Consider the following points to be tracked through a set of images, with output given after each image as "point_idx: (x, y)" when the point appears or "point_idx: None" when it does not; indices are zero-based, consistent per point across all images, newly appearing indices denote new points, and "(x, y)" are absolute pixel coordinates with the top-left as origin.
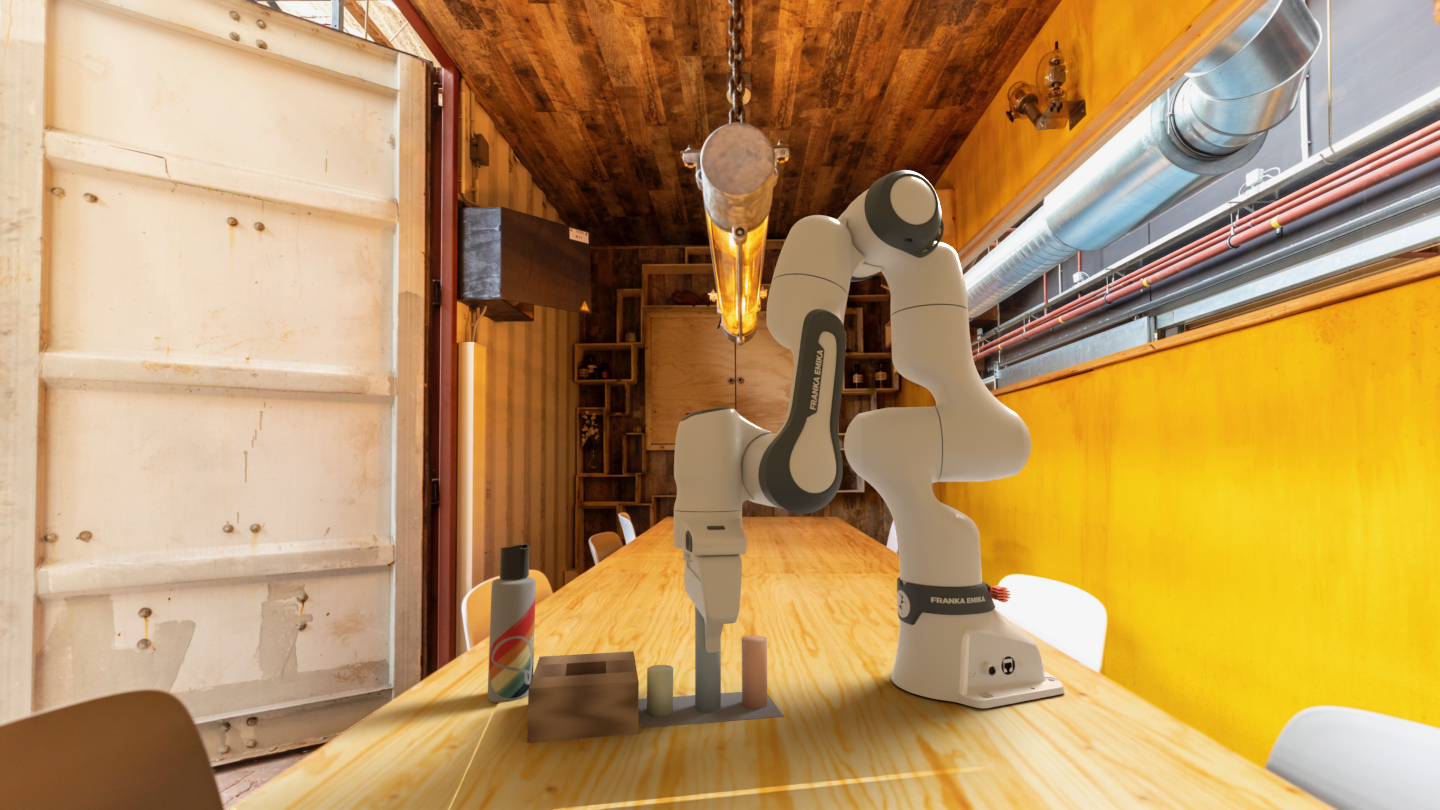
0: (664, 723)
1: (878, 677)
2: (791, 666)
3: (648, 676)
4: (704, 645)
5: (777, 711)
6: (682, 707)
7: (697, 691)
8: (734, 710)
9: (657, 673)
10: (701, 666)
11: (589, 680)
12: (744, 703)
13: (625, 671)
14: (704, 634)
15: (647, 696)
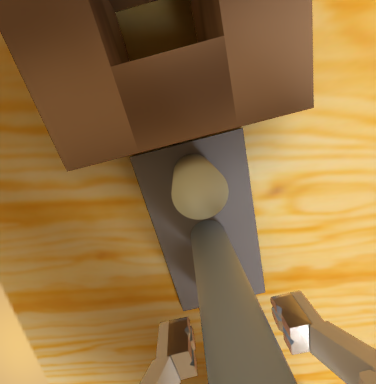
0: (148, 187)
1: (298, 378)
2: (354, 312)
3: (183, 168)
4: (180, 324)
5: (196, 305)
6: None
7: (199, 237)
8: None
9: (171, 192)
10: (198, 272)
11: (37, 25)
12: None
13: (133, 122)
14: (205, 345)
15: (185, 159)
